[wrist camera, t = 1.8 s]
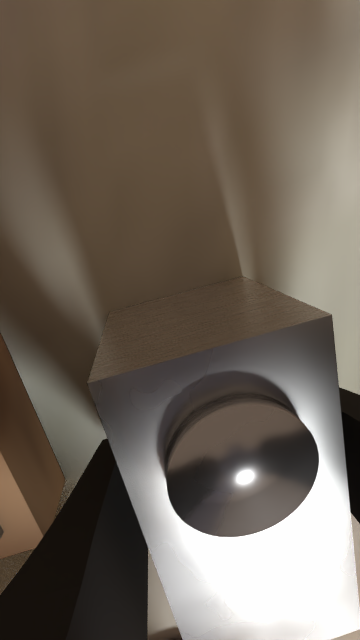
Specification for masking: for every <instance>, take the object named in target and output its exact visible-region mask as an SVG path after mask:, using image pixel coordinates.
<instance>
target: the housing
mask: <svg viewBox="0 0 360 640" xmlns="http://www.w3.org/2000/svg"><path fill="white" fill-rule="evenodd" d="M87 384H88V387H89V390H90V392H91V395H92V398H93V400H94V403H95V406H96V408H97V411H98V414H99V417H100V419H101V422H102V425H103V427H104V430H105V433H106V435H107V438H108V441H109V443H110V446H111V449H112V451H113V454H114V457H115V460H116V462H117V465H118V468H119V470H120V473H121V476H122V478H123V481H124V484H125V486H126V489H127V492H128V494H129V497H130V500H131V502H132V505H133V508H134V511H135V513H136V516H137V519H138V521H139V524H140V527H141V529H142V532H143V535H144V537H145V540H146V543H147V545H148V548H149V551H150V554H151V556H152V559H153V562H154V564H155V567H156V570H157V572H158V575H159V578H160V580H161V583H162V586H163V588H164V591H165V594H166V596H167V599H168V602H169V605H170V607H171V610H172V613H173V615H174V618H175V621H176V623H177V626H178V629H179V631H180V634H181V637H182V639H183V640H330V639H333V638H336V637H339V636H342V635H345V634H348V633H350V632H353V631H356V630H359V629H360V608H359V598H358V587H357V576H356V566H355V555H354V544H353V534H352V523H351V512H350V502H349V491H348V480H347V470H346V459H345V448H344V438H343V427H342V416H341V406H340V395H339V385H338V374H337V363H336V353H335V342H334V331H333V321H332V314H329V313H327V312H325V311H322V310H320V309H318V308H315V307H313V306H311V305H308V304H306V303H304V302H301V301H299V300H297V299H295V298H292V297H290V296H288V295H285V294H283V293H281V292H278V291H276V290H274V289H271V288H269V287H267V286H264V285H262V284H260V283H257V282H255V281H253V280H250V279H248V278H246V277H243V276H242V277H238V278H235V279H231V280H227V281H223V282H220V283H216V284H212V285H208V286H205V287H201V288H197V289H193V290H190V291H186V292H182V293H178V294H175V295H171V296H167V297H163V298H160V299H156V300H152V301H148V302H145V303H141V304H137V305H134V306H130V307H126V308H122V309H119V310H115V311H111V312H109V315H108V318H107V321H106V325H105V328H104V331H103V334H102V337H101V341H100V344H99V347H98V350H97V353H96V357H95V360H94V363H93V366H92V369H91V372H90V376H89V379H88V382H87Z"/></svg>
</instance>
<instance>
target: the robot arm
mask: <svg viewBox="0 0 360 640" xmlns="http://www.w3.org/2000/svg"><path fill="white" fill-rule="evenodd" d="M339 395H340V406H341V416H342V427H343V438H344V448H345V459H346V470H347V480H348V491H349V502H350V512H351V513H352V514H353V516H354V517H355V518H356V519H357V521H358V522H359V523H360V395H358V394H356V393H353V392H350V391H348V390H345V389H342V388H339ZM147 609H148V545H147V543H146V540H145V537H144V535H143V532H142V529H141V527H140V524H139V521H138V519H137V516H136V513H135V511H134V508H133V505H132V502H131V500H130V497H129V494H128V492H127V489H126V486H125V484H124V481H123V478H122V476H121V473H120V470H119V468H118V465H117V462H116V460H115V457H114V454H113V451H112V449H111V446H110V443H109V441H108V439H105V440H102V442H101V444H100V445H99V447H98V449H97V450H96V452H95V454H94V455H93V457H92V459H91V460H90V462H89V464H88V466H87V467H86V469H85V471H84V473H83V474H82V476H81V478H80V479H79V481H78V483H77V485H76V486H75V488H74V489H73V491H72V493H71V494H70V496H69V498H68V499H67V501H66V503H65V504H64V506H63V508H62V509H61V511H60V512H59V514H58V515H57V517H56V518H55V520H54V521H53V523H52V524H51V526H50V527H49V529H48V530H47V532H46V533H45V535H44V536H43V538H42V539H41V541H40V542H39V544H38V545H37V547H36V548H35V550H34V551H33V552H32V554H31V555H30V557H29V558H28V559H27V561H26V562H25V563H24V565H23V566H22V568H21V569H20V570H19V572H18V573H17V574H16V576H15V577H14V578H13V579H12V581H11V582H10V583H9V585H8V586H7V587H6V589H5V590H4V591H3V592H2V594H1V595H0V640H147Z"/></svg>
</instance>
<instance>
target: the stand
mask: <svg viewBox="0 0 360 640" xmlns="http://www.w3.org/2000/svg"><path fill="white" fill-rule="evenodd" d="M64 483H65V478H64V475H63V473H62V471H61V469H60V466H59V464H58V462H57V460H56V457H55V455H54V453H53V451H52V448H51V446H50V444H49V442H48V439H47V437H46V435H45V433H44V430H43V428H42V426H41V424H40V421H39V419H38V417H37V415H36V412H35V410H34V408H33V406H32V403H31V401H30V399H29V397H28V394H27V392H26V390H25V388H24V385H23V383H22V381H21V379H20V376H19V374H18V372H17V370H16V367H15V365H14V363H13V361H12V358H11V356H10V354H9V352H8V349H7V347H6V345H5V343H4V340H3V338H2V336H1V334H0V559H2V558H5V557H8V556H12V555H15V554H18V553H21V552H25V551H28V550H31V549H34V548H36V547H37V545H38V544H39V542H40V541H41V539H42V538H43V536H44V535H45V533H46V532H47V530H48V529H49V527H50V526H51V524H52V523H53V521H54V519H55V515H56V512H57V508H58V504H59V501H60V497H61V494H62V490H63V486H64Z"/></svg>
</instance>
